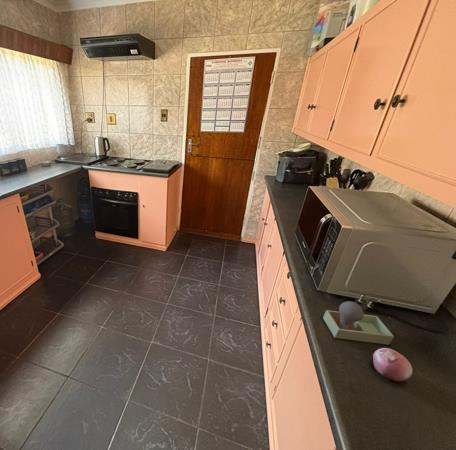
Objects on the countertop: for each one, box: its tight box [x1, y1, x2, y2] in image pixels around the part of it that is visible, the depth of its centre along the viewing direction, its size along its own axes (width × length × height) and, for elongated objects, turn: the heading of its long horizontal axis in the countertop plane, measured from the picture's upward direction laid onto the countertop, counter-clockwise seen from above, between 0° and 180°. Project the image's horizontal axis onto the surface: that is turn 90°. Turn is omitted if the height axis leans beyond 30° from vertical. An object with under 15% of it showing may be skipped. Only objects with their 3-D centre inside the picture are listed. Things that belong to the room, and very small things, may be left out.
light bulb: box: [338, 300, 365, 330], centre depth 77 cm, size 6×6×10 cm
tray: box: [322, 309, 395, 346], centre depth 78 cm, size 16×8×4 cm, turn 82°
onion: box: [372, 347, 413, 382], centre depth 66 cm, size 8×8×7 cm
